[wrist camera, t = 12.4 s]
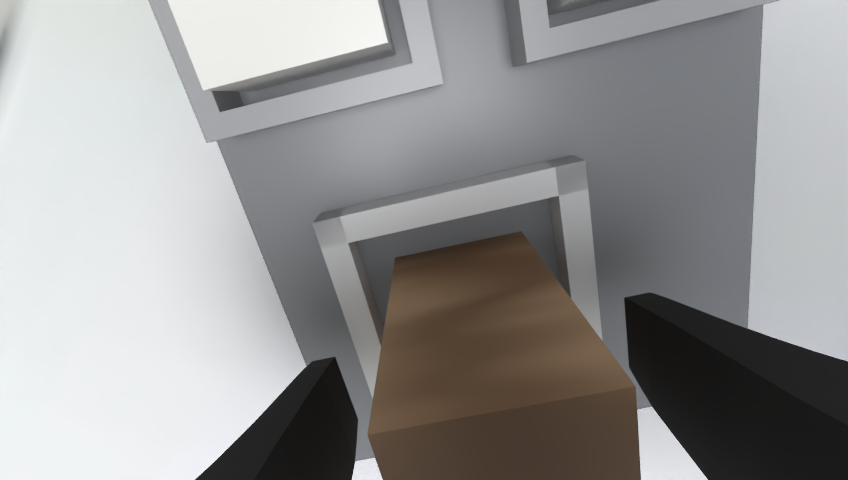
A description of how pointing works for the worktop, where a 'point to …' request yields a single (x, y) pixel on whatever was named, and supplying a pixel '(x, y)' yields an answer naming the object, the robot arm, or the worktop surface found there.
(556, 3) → the button
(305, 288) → the breaker panel
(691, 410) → the robot arm
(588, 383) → the block
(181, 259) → the worktop surface
